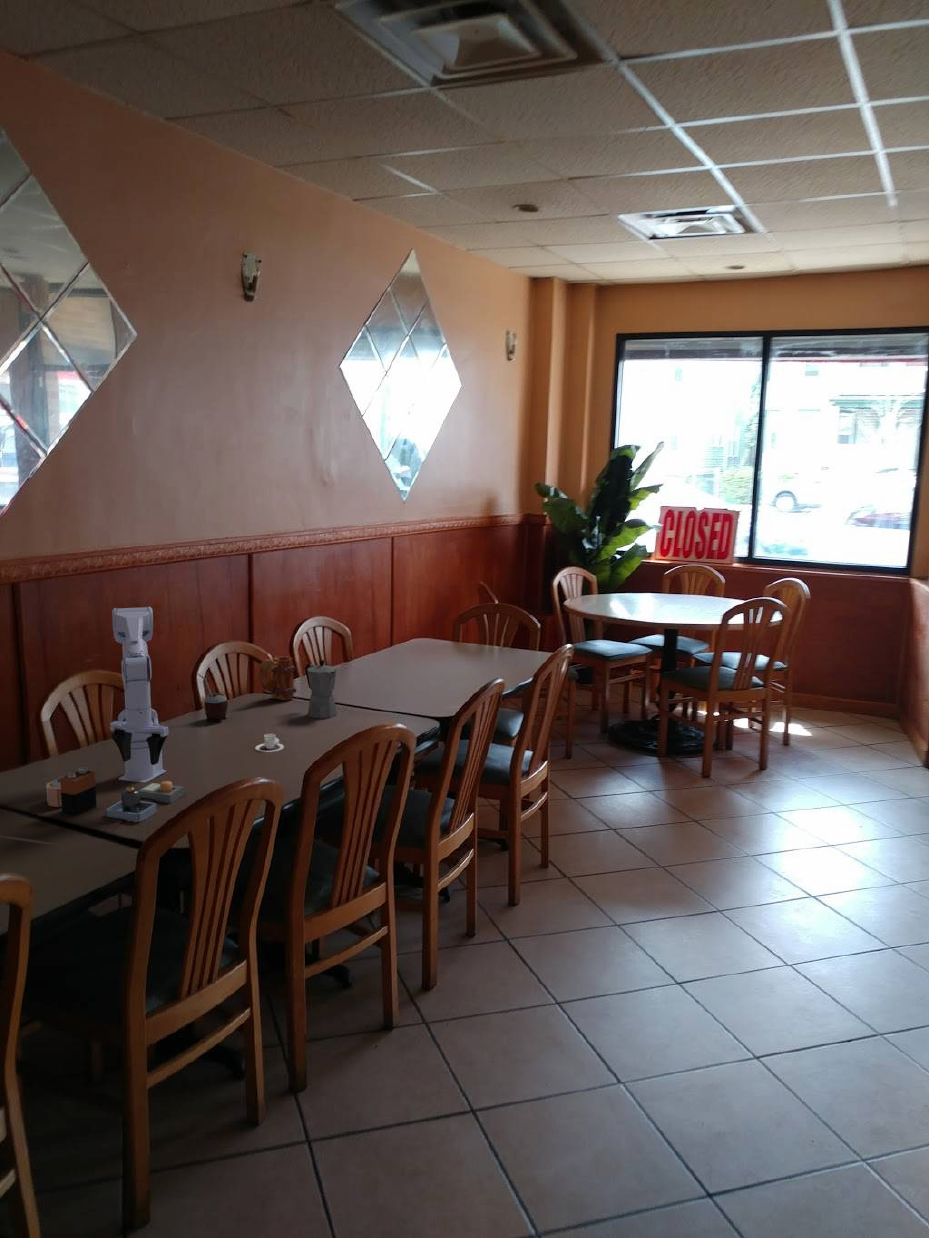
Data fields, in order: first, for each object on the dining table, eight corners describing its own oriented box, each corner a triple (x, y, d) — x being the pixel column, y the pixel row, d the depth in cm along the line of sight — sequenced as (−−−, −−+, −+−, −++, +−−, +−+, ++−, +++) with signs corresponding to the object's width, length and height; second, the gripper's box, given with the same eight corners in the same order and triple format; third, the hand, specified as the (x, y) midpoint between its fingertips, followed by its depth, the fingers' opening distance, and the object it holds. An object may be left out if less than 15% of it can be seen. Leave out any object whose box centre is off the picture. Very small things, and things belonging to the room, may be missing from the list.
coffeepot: (346, 716, 299) (346, 661, 295) (322, 721, 292) (321, 665, 289) (318, 706, 310) (317, 653, 306) (294, 711, 303) (293, 657, 300)
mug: (285, 694, 324) (284, 651, 321) (301, 698, 319) (301, 655, 316) (252, 703, 312) (251, 658, 309) (269, 707, 307) (268, 662, 305)
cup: (60, 797, 227) (59, 777, 226) (83, 800, 226) (81, 780, 225) (42, 806, 221) (40, 786, 220) (65, 809, 220) (64, 789, 219)
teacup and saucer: (270, 742, 273) (270, 728, 272) (291, 747, 269) (291, 733, 268) (249, 750, 266) (249, 736, 265) (270, 755, 262) (270, 741, 261)
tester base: (184, 794, 231) (184, 785, 230) (170, 803, 225) (170, 794, 224) (152, 790, 233) (151, 781, 232) (137, 798, 227) (137, 790, 227)
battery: (97, 808, 221) (95, 767, 219) (75, 818, 215) (73, 777, 213) (83, 805, 223) (81, 765, 221) (61, 815, 217) (58, 774, 215)
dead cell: (61, 797, 226) (59, 773, 225) (75, 799, 225) (73, 775, 224) (49, 803, 222) (48, 779, 221) (64, 805, 221) (62, 781, 220)
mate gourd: (231, 721, 291) (230, 674, 289) (207, 725, 287) (205, 677, 284) (222, 715, 297) (220, 669, 295) (198, 719, 293) (196, 672, 290)
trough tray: (124, 807, 222) (123, 799, 222) (157, 811, 220) (157, 803, 219) (105, 818, 215) (105, 809, 215) (139, 822, 213) (139, 814, 213)
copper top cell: (128, 808, 220) (127, 784, 219) (144, 810, 219) (142, 785, 218) (118, 815, 216) (117, 790, 215) (134, 816, 215) (133, 791, 214)
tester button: (164, 792, 230) (164, 780, 229) (174, 793, 229) (174, 781, 229) (158, 796, 227) (157, 784, 227) (168, 797, 227) (167, 785, 226)
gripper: (100, 708, 219) (103, 764, 222) (155, 714, 216) (157, 770, 218) (119, 701, 226) (122, 754, 229) (172, 706, 222) (174, 761, 225)
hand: (140, 762), depth 224 cm, fingers open, 7 cm apart
